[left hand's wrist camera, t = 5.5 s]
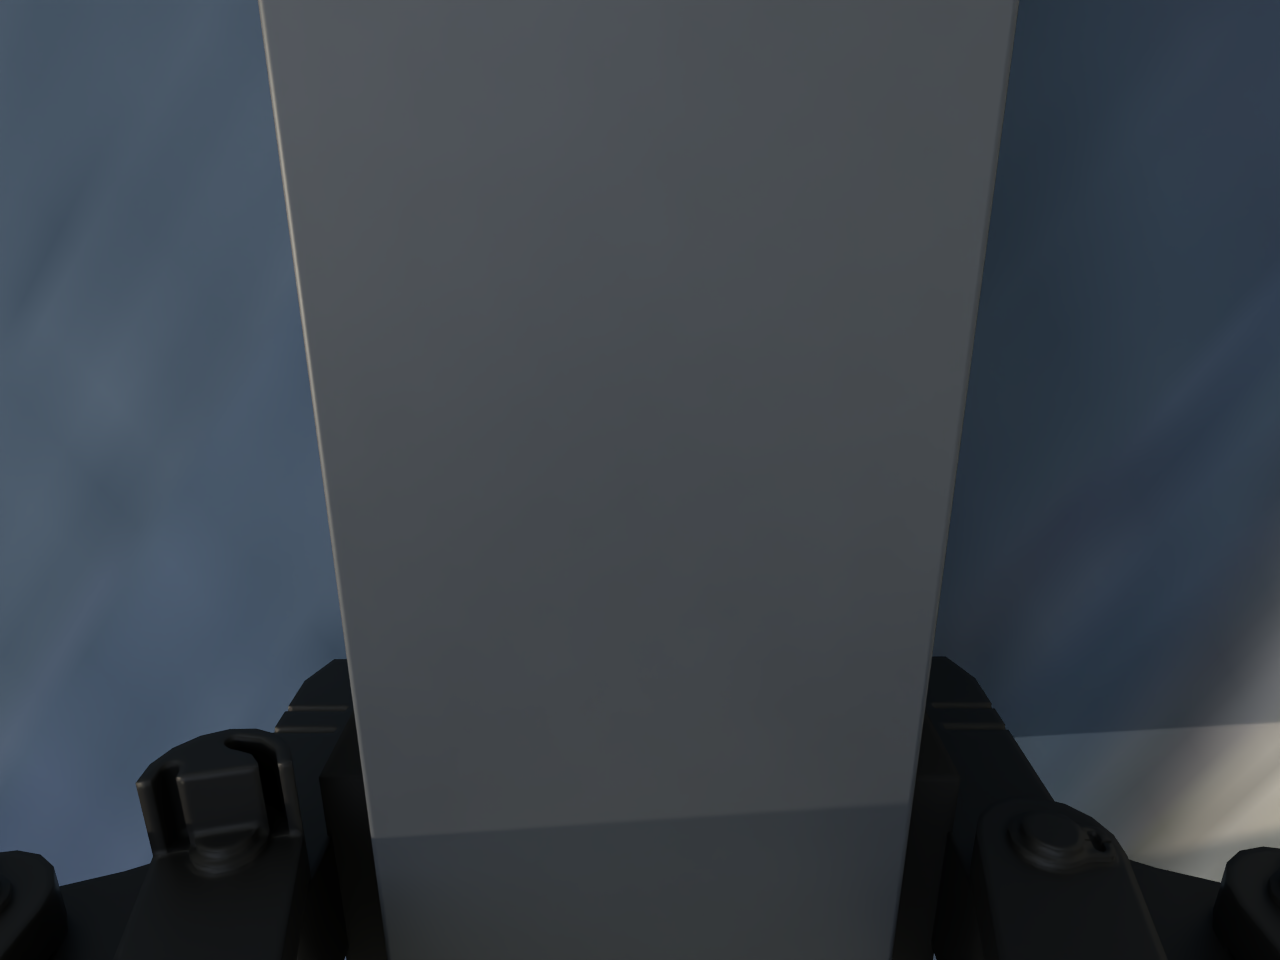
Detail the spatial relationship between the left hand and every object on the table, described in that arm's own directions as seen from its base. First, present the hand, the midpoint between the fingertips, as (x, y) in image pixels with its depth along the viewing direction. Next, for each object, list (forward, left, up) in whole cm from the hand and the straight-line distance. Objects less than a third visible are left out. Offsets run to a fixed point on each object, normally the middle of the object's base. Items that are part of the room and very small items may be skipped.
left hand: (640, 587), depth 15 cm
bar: (+29, +22, -1) cm, 37 cm away
